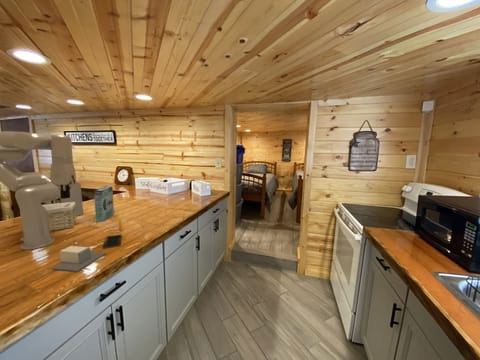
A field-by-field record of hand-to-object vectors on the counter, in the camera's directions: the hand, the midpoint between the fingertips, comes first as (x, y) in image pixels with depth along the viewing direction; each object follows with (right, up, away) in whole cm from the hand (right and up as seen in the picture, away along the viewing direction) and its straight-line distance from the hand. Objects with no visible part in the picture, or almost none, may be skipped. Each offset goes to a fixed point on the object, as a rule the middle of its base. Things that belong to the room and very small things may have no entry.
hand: (65, 197), depth 97 cm
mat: (+14, -28, -8) cm, 32 cm away
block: (+7, -25, -7) cm, 27 cm away
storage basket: (-36, -23, +30) cm, 52 cm away
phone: (+16, -26, +12) cm, 33 cm away
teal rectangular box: (-16, -20, +52) cm, 58 cm away
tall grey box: (-44, -19, +56) cm, 74 cm away
